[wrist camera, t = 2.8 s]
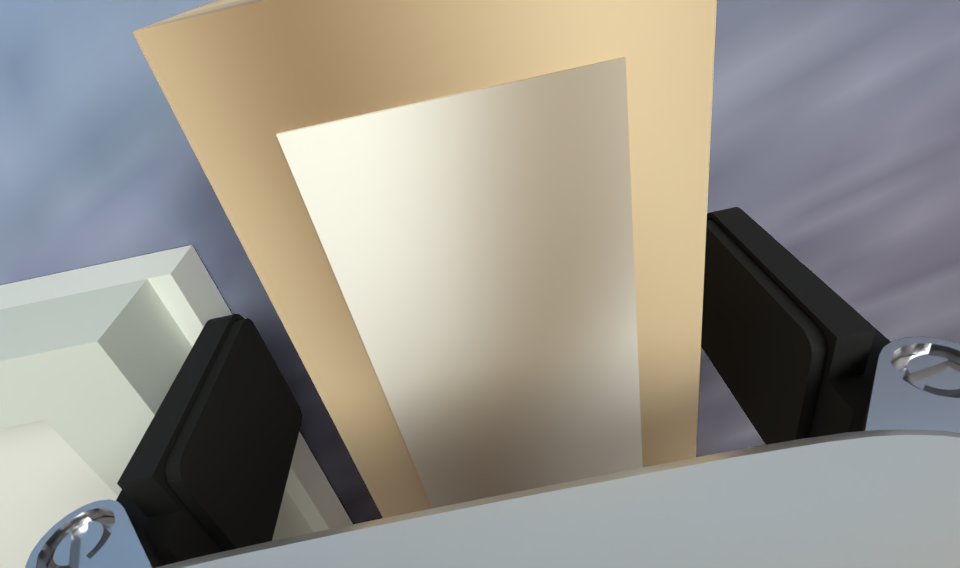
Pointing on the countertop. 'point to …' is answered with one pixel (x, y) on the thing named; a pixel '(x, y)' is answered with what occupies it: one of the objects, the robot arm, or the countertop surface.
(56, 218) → the countertop surface
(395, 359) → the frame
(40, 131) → the countertop surface
